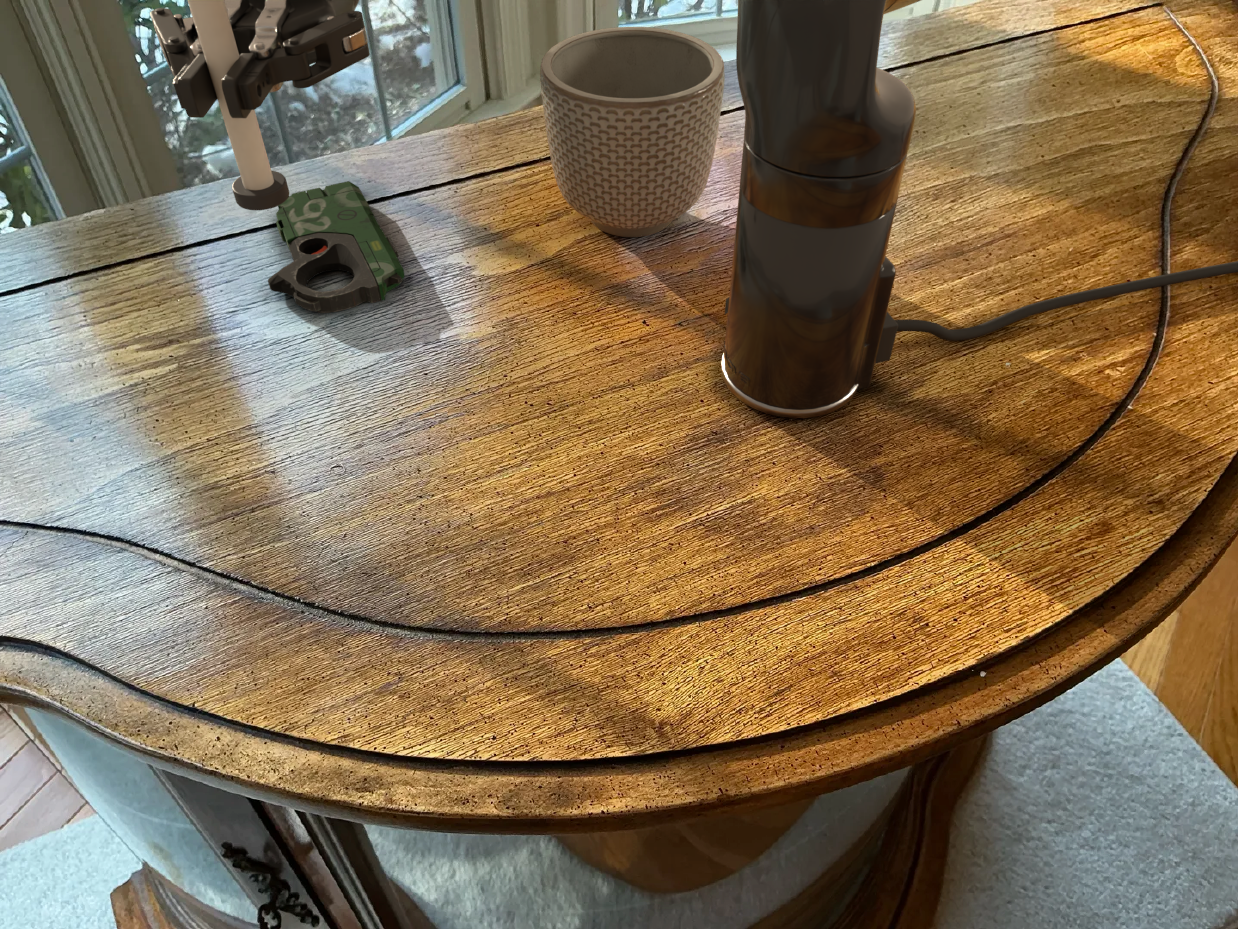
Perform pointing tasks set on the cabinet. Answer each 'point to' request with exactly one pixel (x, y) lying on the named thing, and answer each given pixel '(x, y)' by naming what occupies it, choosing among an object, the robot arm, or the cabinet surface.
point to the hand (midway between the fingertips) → (211, 100)
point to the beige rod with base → (257, 179)
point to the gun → (334, 248)
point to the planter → (632, 124)
